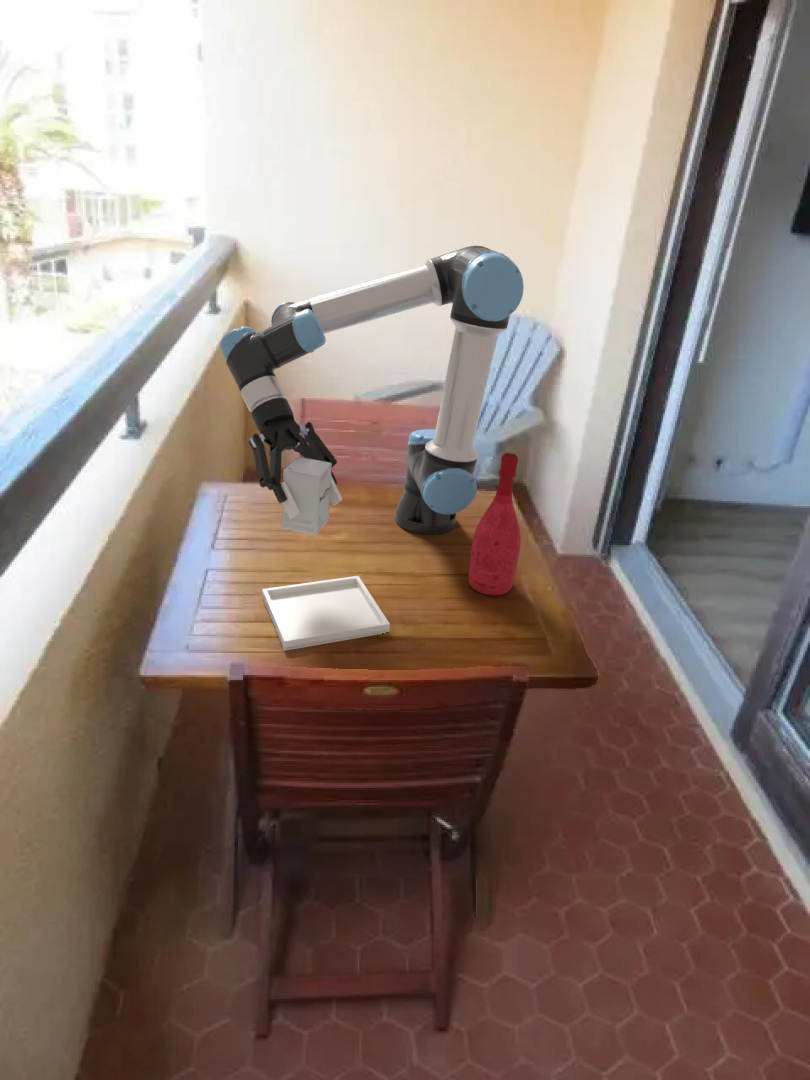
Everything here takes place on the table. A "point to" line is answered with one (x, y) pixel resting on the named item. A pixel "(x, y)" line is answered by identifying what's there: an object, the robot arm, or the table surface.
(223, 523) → the table surface
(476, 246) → the robot arm
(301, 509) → the supplement box
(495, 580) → the wine bottle
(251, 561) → the table surface
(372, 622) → the white tray
